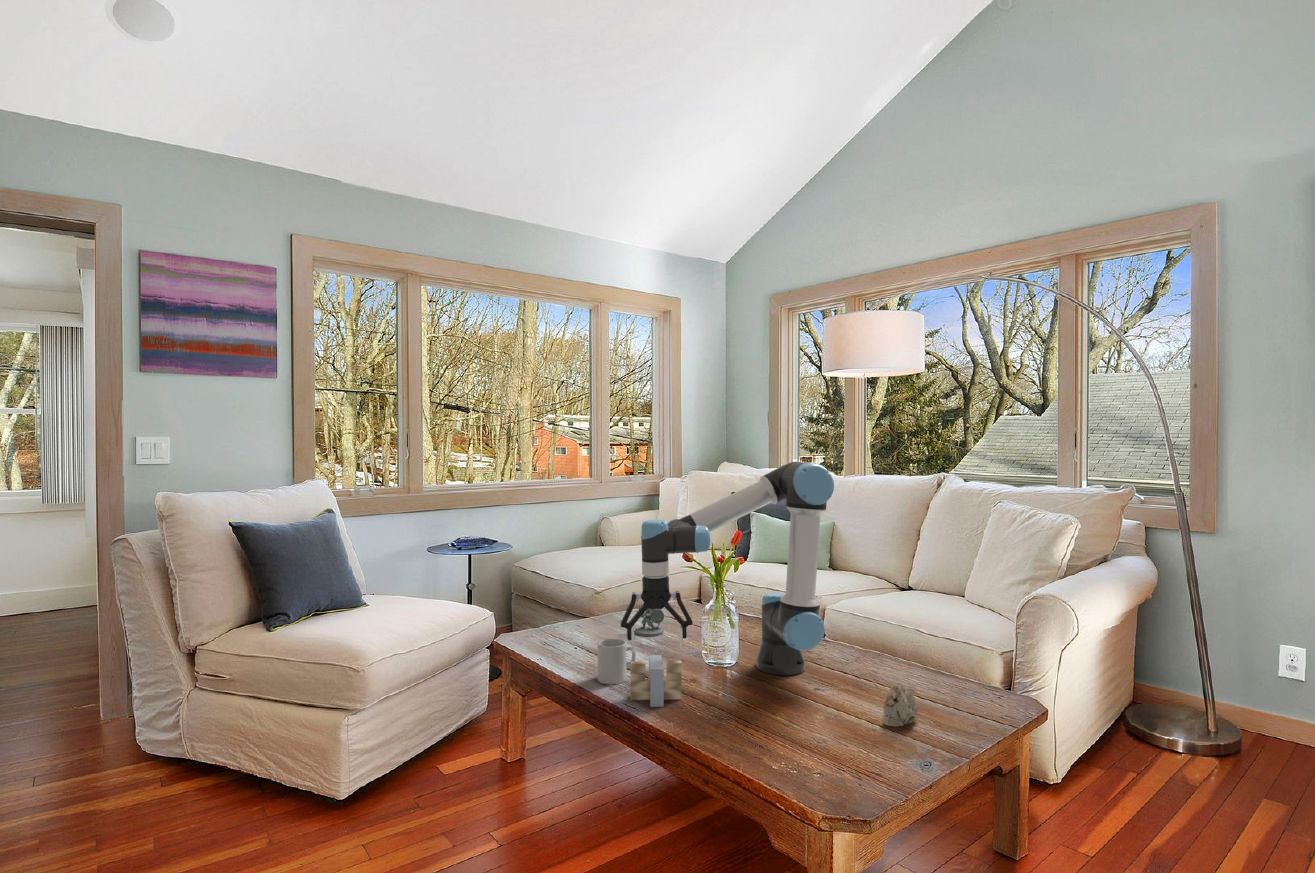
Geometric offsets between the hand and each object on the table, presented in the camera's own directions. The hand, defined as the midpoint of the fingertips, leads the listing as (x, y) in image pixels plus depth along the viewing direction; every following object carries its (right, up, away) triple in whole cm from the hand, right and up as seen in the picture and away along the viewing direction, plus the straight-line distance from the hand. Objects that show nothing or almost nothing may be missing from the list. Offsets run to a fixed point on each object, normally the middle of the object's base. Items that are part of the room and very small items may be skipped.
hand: (657, 650), depth 194 cm
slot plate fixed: (0, -12, -4) cm, 13 cm away
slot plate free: (0, -12, -4) cm, 12 cm away
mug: (-12, -12, +11) cm, 20 cm away
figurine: (-3, -12, +60) cm, 61 cm away
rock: (+63, -12, -18) cm, 67 cm away
